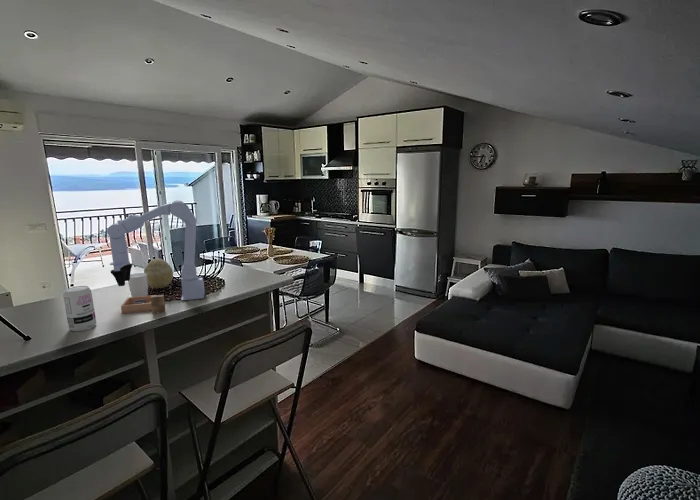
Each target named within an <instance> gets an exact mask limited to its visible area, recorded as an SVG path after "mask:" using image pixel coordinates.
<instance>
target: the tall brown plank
mask: <svg viewBox="0 0 700 500" xmlns="http://www.w3.org/2000/svg"><path fill="white" fill-rule="evenodd" d="M155 295H156V296H151V297H150V298H151V306H152V311H151V312H152V315H154V314H162V313H163V314H165V313H166V304H165V295H164V294H158V295H157V294H155Z"/></svg>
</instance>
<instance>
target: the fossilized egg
mask: <svg viewBox="0 0 700 500" xmlns="http://www.w3.org/2000/svg"><path fill="white" fill-rule="evenodd" d="M143 273H146V274H147V281H148V287H151V288H153V289H155V290H156V289H157V290H158V289H159V288H160V289H164V288H165V287H168V286H169V285H170V284H171V282H172V280H173V278H174V270H173V269H172V266H171V265H170V264H169V263H168V262H167V261H166V260H164V259H162V258H159V257H158V258H154V259H152V260H151V261H149V262H148V263H147V265H146V267H145V268H144V270H143Z"/></svg>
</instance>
